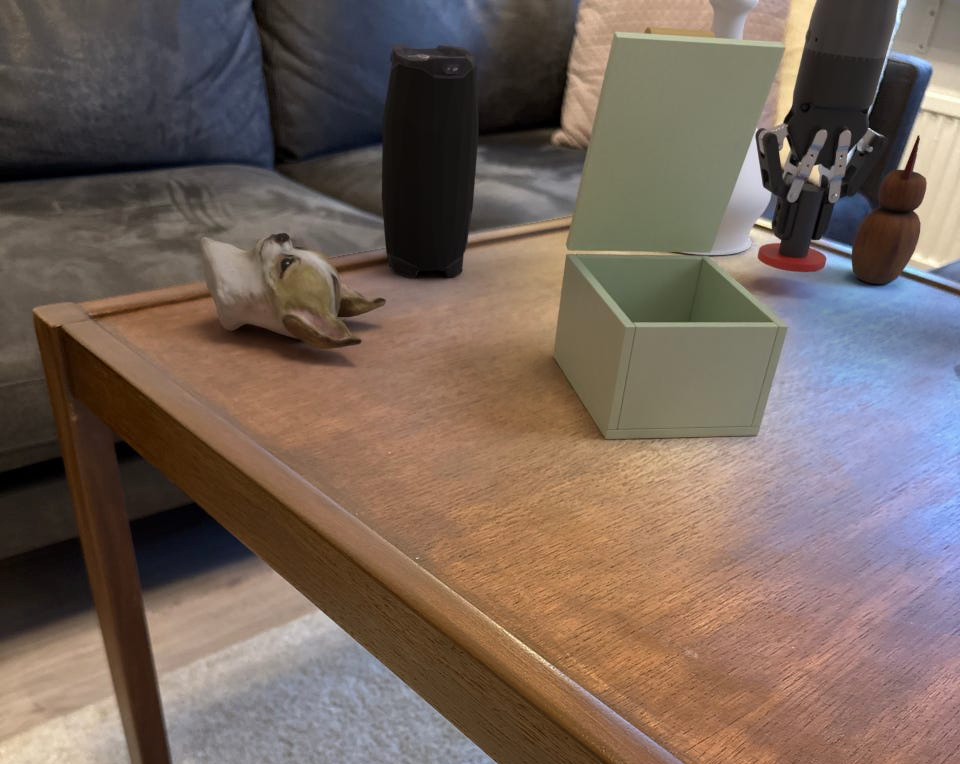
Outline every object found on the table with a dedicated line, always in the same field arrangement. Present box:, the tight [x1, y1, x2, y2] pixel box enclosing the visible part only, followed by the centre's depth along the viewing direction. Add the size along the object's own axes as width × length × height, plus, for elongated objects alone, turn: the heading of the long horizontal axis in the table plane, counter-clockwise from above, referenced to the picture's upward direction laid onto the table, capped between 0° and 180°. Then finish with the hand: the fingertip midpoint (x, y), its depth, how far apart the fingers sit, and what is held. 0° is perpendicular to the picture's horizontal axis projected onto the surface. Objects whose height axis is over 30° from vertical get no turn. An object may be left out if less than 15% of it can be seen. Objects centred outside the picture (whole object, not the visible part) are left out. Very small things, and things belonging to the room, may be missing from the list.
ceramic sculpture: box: [200, 232, 387, 350], centre depth 83 cm, size 11×9×15 cm
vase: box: [680, 0, 772, 256], centre depth 110 cm, size 17×17×25 cm
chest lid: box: [565, 26, 786, 253], centre depth 76 cm, size 16×13×5 cm
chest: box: [552, 253, 789, 440], centre depth 79 cm, size 16×13×9 cm
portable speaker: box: [381, 43, 480, 279], centre depth 95 cm, size 9×9×20 cm
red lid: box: [757, 183, 827, 273], centre depth 102 cm, size 7×7×7 cm
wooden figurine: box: [851, 134, 928, 285], centre depth 105 cm, size 7×6×15 cm
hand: (797, 237), depth 102 cm, fingers closed on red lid, 3 cm apart
